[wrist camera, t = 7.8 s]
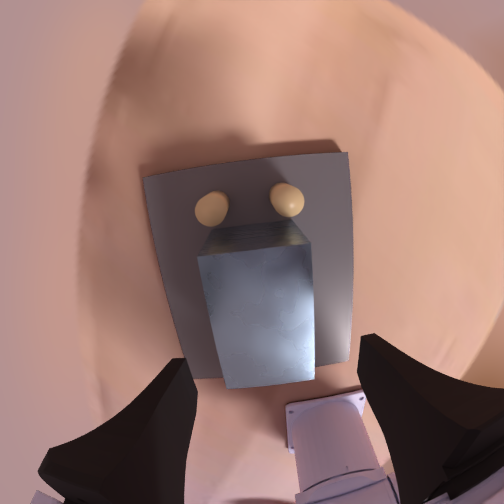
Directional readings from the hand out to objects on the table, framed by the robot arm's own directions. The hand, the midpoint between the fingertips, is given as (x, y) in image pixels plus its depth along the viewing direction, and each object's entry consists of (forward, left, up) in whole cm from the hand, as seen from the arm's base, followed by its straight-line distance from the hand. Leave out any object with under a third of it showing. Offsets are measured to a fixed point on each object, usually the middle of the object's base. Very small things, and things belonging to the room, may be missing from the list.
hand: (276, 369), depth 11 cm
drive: (0, 0, -8) cm, 8 cm away
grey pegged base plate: (0, 0, -9) cm, 9 cm away
